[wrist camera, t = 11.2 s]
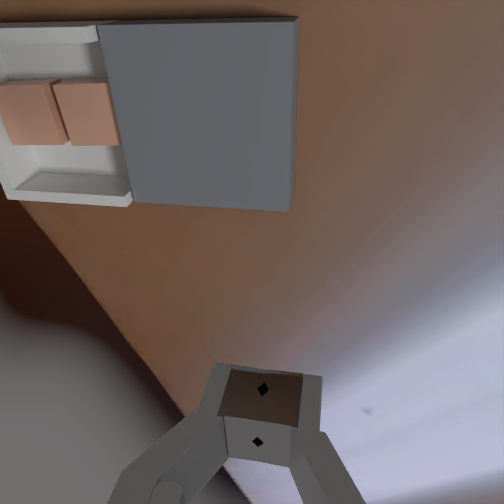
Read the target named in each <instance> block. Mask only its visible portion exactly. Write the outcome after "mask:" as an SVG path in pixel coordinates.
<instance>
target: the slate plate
mask: <svg viewBox="0 0 504 504" xmlns="http://www.w3.org/2000/svg"><path fill="white" fill-rule="evenodd" d="M97 28H98V32H99V37H100V42H101V47H102V51H103V56H104V61H105V65H106V70H107V75H108V80H109V84H110V89H111V94H112V98H113V103H114V108H115V112H116V117H117V122H118V127H119V131H120V136H121V141H122V145H123V150H124V155H125V160H126V164H127V169H128V174H129V178H130V183H131V188H132V192H133V197H134V202H141V203H157V204H173V205H188V206H204V207H220V208H236V209H251V210H267V211H283V212H289V211H290V207H291V203H292V198H293V194H294V181H295V148H296V114H297V81H298V47H299V17H261V18H211V19H161V20H121V21H116V22H111V23H106V24H101V25H97Z"/></svg>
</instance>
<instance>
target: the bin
mask: <svg viewBox="0 0 504 504" xmlns="http://www.w3.org/2000/svg"><path fill="white" fill-rule="evenodd" d="M116 21H119V20H111V21H60V22H10V23H0V83H3V82H6V81H9V80H30V79H55V78H60V79H61V82H63V81H66V80H68V79H82V78H102V77H108V75H107V70H106V65H105V61H104V56H103V51H102V47H101V42H100V37H99V32H98V28H97V25H101V24H106V23H111V22H116ZM0 182H1V184H2V187H3V189H4V192H5V194H6V197H7V199H13V200H28V201H43V202H58V203H74V204H89V205H104V206H119V207H127V206H128V205H129V204H130V203H131V202H132V201H133V200H134V197H133V192H132V188H131V183H130V178H129V174H128V169H127V164H126V160H125V155H124V150H123V145H113V146H72V144H71V141H68V142H67V143H65V144H63V145H13V143H12V141H11V138H10V136H9V133H8V131H7V128H6V126H5V123H4V121H3V118H2V116H1V113H0Z"/></svg>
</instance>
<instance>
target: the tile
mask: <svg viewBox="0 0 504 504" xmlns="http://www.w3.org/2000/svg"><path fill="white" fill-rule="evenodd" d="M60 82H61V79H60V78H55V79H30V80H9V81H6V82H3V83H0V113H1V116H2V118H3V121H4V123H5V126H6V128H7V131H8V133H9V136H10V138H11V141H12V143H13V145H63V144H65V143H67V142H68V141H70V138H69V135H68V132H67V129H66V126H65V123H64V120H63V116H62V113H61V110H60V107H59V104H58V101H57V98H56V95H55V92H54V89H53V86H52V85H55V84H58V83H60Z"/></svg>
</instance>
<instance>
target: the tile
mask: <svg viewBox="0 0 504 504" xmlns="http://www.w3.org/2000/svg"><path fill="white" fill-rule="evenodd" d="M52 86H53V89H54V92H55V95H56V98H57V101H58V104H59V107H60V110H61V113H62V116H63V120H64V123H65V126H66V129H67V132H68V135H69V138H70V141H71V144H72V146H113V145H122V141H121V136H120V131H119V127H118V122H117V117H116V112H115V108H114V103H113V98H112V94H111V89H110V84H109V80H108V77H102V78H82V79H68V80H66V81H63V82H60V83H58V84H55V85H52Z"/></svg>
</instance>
